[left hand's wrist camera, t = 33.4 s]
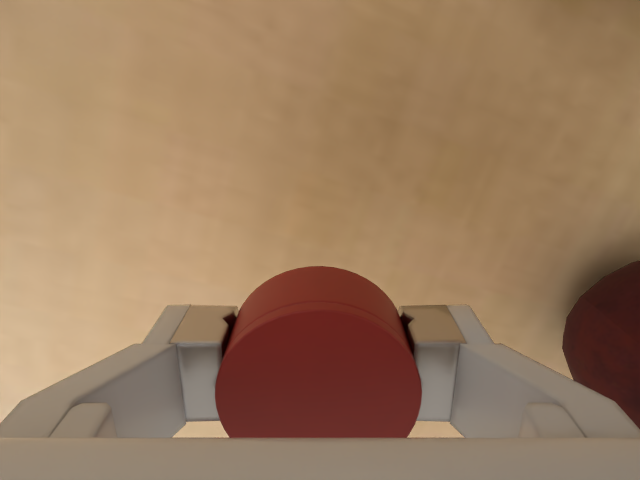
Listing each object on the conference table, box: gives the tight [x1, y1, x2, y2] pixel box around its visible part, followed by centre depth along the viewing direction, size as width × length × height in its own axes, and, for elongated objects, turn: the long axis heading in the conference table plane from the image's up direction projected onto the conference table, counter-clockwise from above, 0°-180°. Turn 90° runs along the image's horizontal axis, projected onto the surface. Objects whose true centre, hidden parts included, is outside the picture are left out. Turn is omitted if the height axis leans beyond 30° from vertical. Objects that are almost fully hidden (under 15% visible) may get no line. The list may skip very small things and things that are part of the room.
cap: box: [215, 266, 422, 438], centre depth 9 cm, size 4×4×2 cm
